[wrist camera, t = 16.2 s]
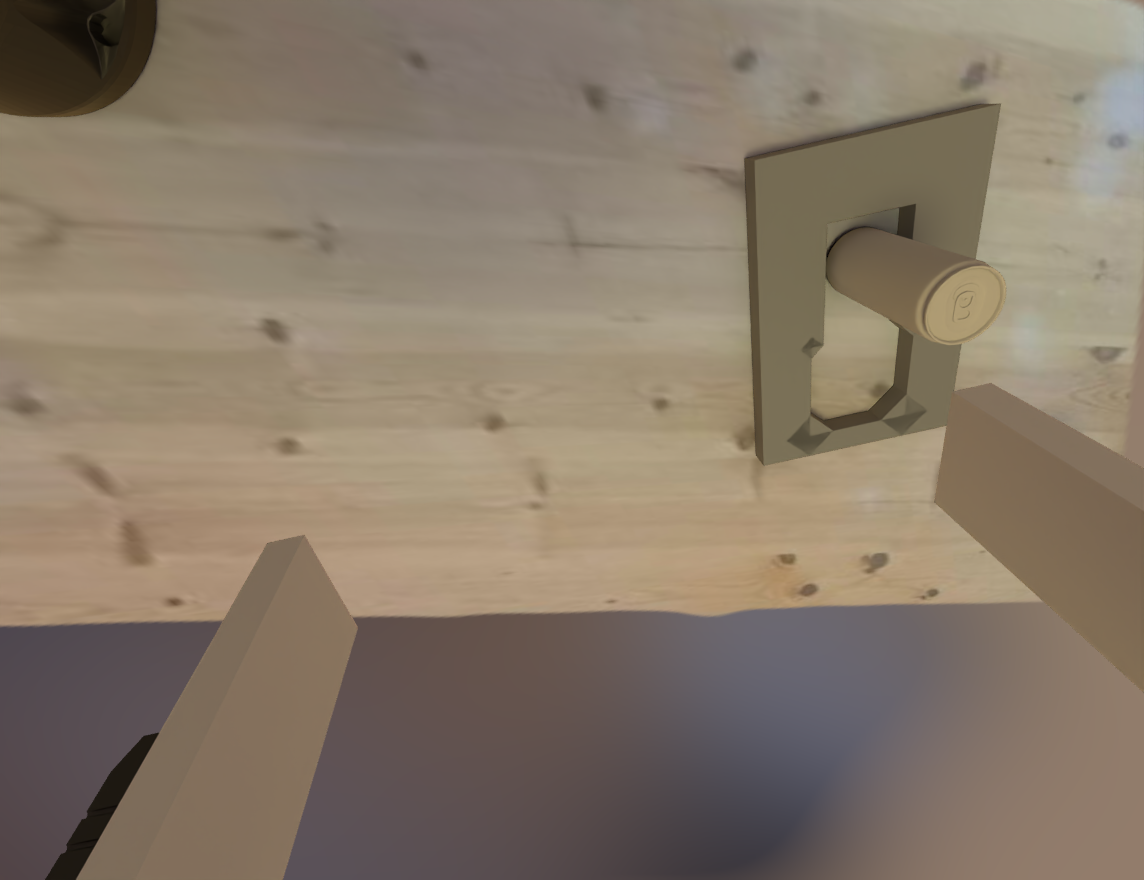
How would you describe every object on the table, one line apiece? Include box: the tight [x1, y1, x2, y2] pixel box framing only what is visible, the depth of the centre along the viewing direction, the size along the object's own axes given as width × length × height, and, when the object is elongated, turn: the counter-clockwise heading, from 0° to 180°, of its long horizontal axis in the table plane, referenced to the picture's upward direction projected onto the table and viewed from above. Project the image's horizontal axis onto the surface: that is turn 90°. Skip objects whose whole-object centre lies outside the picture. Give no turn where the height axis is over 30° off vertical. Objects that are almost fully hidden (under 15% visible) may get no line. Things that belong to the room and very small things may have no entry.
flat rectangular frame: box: [745, 104, 1001, 466], centre depth 43 cm, size 24×16×2 cm, turn 11°
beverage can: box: [826, 227, 1006, 345], centre depth 37 cm, size 5×5×12 cm
